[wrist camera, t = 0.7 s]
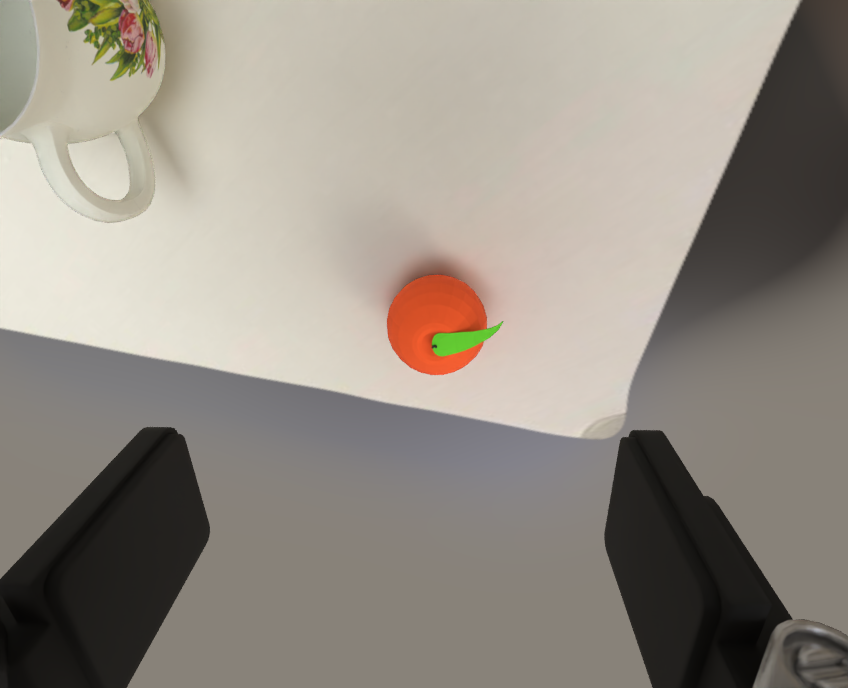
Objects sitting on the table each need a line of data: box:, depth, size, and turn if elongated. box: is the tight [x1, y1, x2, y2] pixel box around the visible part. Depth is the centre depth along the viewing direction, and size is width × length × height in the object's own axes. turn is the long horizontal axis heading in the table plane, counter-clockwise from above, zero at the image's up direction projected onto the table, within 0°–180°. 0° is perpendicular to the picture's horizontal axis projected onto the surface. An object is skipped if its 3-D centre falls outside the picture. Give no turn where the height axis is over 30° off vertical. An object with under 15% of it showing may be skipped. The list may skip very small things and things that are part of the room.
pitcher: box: [0, 0, 166, 223], centre depth 26 cm, size 11×18×14 cm, turn 19°
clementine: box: [387, 275, 503, 375], centre depth 35 cm, size 8×7×7 cm
